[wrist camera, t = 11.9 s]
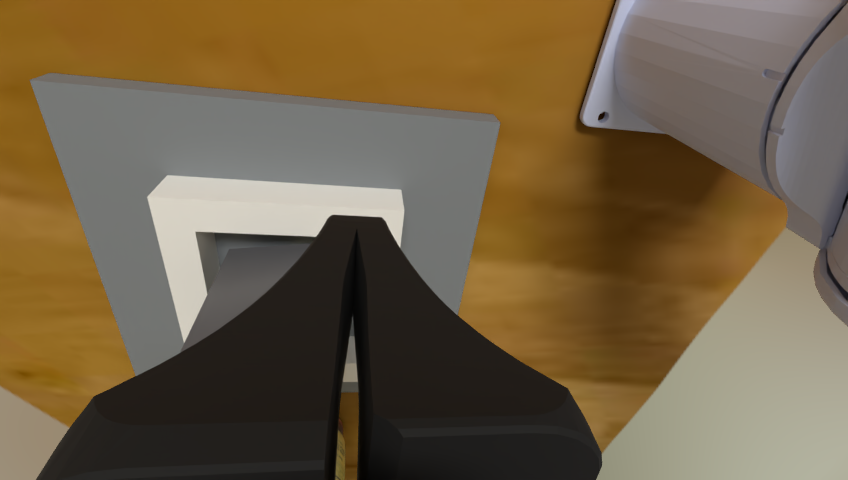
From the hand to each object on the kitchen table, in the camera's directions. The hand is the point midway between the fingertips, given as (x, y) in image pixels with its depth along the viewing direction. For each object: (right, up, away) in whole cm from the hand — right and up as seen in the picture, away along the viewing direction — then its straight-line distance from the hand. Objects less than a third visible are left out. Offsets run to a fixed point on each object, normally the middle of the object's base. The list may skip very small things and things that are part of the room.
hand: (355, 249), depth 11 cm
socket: (-5, -1, +12) cm, 13 cm away
